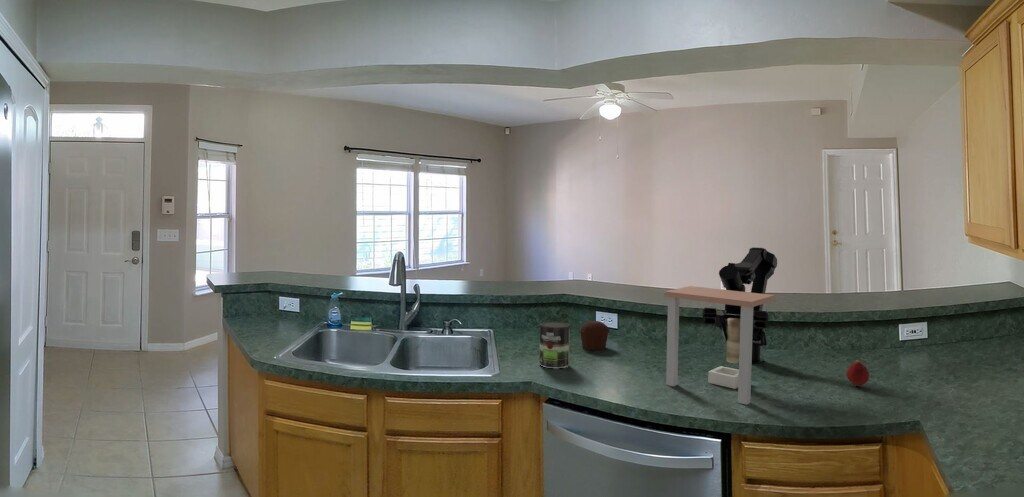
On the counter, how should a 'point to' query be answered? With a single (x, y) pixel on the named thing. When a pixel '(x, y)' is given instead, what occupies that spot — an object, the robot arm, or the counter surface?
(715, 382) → the socket
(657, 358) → the counter surface
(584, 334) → the muffin
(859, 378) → the onion
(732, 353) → the peg
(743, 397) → the pink topped table
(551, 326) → the coffee can
